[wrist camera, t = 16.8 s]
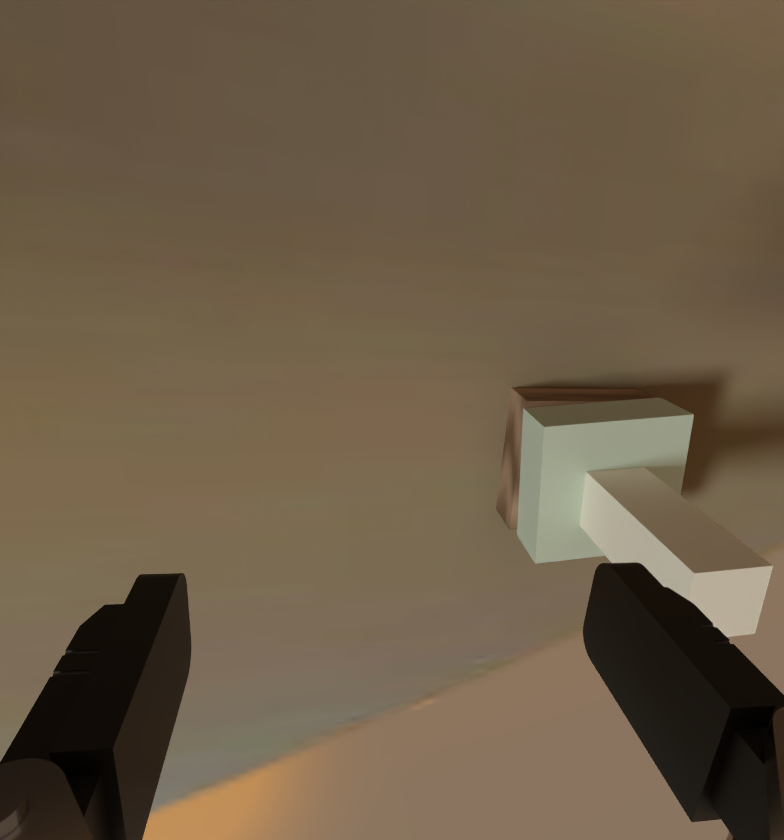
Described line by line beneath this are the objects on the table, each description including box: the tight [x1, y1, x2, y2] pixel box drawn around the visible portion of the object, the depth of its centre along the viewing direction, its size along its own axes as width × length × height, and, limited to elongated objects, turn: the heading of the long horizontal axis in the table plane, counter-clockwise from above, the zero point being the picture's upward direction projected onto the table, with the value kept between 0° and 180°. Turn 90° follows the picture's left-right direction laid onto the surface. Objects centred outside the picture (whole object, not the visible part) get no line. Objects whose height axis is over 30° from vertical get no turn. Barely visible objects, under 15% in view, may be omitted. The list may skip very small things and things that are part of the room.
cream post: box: [580, 467, 773, 637], centre depth 34 cm, size 4×4×12 cm
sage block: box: [517, 397, 694, 563], centre depth 42 cm, size 11×11×4 cm
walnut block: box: [496, 388, 654, 529], centre depth 45 cm, size 11×11×4 cm
